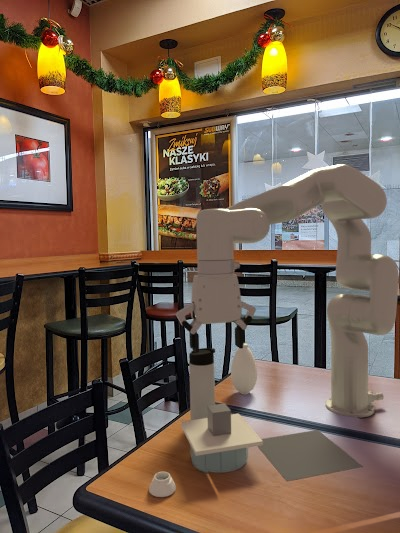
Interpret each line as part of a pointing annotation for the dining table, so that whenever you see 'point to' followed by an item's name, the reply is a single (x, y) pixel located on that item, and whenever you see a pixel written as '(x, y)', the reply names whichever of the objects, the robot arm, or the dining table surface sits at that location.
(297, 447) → the mat
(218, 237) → the robot arm
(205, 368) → the travel mug
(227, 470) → the bowl
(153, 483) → the lidless jar
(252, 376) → the white pear-shaped vessel
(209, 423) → the square lid
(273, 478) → the dining table surface
